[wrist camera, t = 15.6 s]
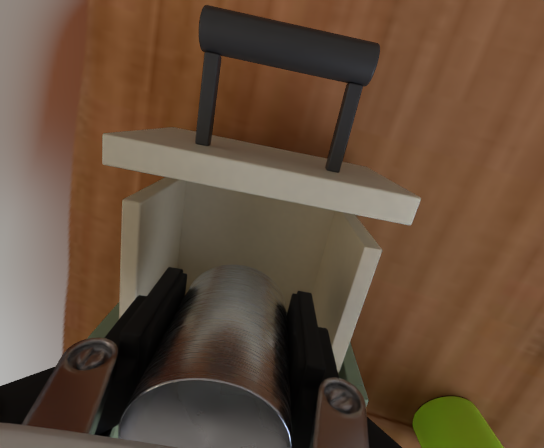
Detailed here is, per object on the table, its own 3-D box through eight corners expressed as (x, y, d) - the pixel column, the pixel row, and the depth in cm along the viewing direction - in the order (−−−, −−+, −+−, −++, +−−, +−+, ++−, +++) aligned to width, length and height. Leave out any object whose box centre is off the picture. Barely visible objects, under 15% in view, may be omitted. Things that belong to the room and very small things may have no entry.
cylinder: (207, 246, 11) (149, 353, 6) (304, 290, 12) (324, 420, 7) (170, 328, 13) (96, 471, 8) (259, 363, 13) (247, 520, 8)
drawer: (180, 28, 17) (101, -42, 9) (394, 75, 17) (480, 44, 10) (158, 308, 23) (100, 398, 16) (315, 336, 23) (332, 436, 16)
